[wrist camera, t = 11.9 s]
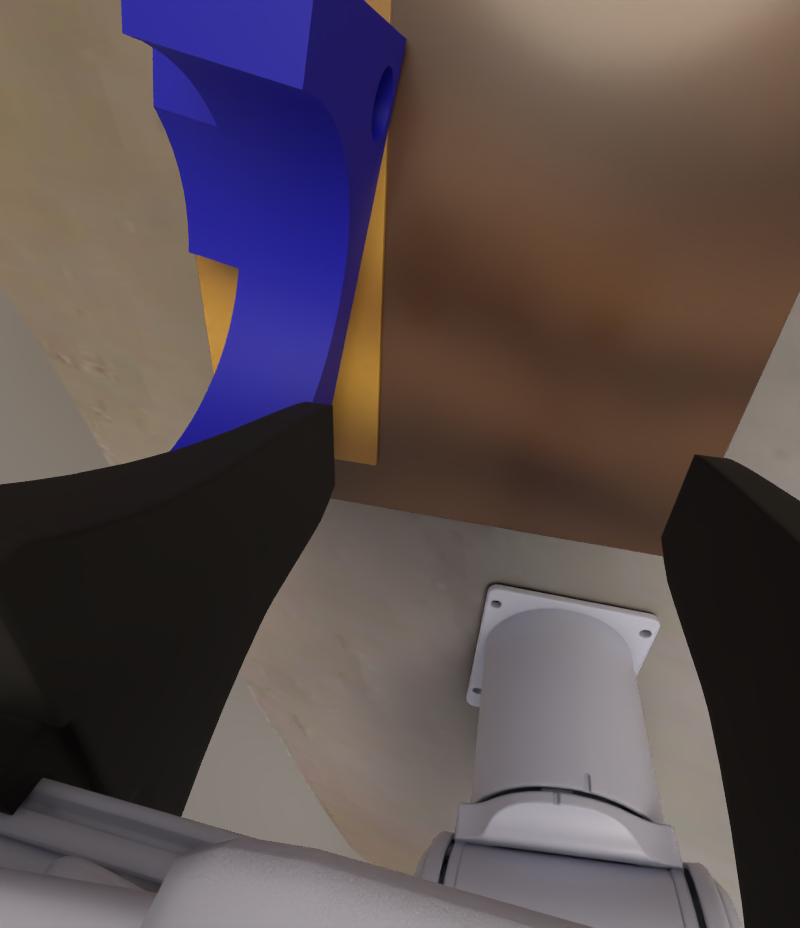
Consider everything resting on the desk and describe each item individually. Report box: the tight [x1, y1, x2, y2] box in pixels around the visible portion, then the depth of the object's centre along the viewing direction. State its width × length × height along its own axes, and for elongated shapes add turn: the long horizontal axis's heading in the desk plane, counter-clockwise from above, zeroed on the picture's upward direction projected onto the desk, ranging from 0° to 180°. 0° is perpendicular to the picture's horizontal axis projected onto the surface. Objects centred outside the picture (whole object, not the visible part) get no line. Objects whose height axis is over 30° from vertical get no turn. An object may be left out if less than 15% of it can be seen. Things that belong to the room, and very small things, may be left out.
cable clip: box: [121, 0, 407, 451], centre depth 13 cm, size 12×4×6 cm, turn 165°
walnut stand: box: [196, 0, 800, 556], centre depth 17 cm, size 15×17×4 cm
